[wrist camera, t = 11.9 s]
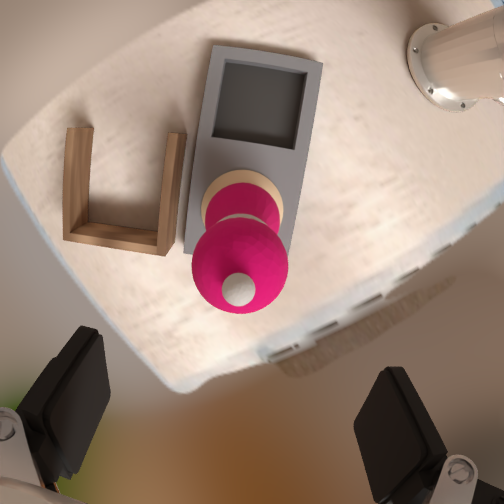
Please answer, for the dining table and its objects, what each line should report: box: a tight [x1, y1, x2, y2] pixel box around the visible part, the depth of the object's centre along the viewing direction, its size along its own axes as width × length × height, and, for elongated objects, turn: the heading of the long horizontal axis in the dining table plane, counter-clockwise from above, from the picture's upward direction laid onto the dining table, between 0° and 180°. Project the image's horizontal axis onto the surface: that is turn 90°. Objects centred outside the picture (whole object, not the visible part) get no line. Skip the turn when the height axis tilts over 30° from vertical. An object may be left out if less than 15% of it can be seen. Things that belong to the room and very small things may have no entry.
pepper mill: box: [192, 182, 288, 314], centre depth 26 cm, size 7×7×20 cm
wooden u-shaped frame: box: [63, 128, 187, 256], centre depth 33 cm, size 13×13×5 cm
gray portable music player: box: [183, 45, 323, 258], centre depth 34 cm, size 12×24×2 cm, turn 171°
